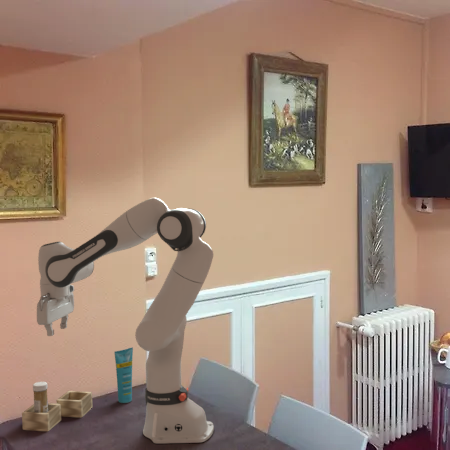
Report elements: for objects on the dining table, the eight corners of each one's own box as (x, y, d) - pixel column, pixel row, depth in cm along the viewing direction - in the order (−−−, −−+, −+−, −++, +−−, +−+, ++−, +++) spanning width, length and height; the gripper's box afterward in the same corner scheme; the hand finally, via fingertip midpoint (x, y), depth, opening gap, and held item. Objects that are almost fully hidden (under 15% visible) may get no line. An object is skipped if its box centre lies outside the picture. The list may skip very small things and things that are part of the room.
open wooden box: (92, 407, 209) (91, 392, 209) (81, 417, 200) (81, 401, 200) (68, 406, 211) (68, 390, 210) (57, 416, 202) (56, 400, 202)
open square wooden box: (61, 420, 198) (60, 403, 198) (48, 431, 190) (47, 414, 189) (36, 418, 200) (35, 402, 200) (22, 429, 191) (21, 412, 191)
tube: (120, 405, 210) (118, 352, 209) (112, 402, 214) (110, 350, 212) (137, 399, 216) (135, 348, 214) (129, 396, 219) (128, 345, 218)
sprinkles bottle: (50, 423, 194) (49, 383, 193) (36, 427, 192) (34, 386, 191) (46, 419, 198) (44, 380, 197) (32, 422, 195) (31, 382, 194)
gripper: (48, 296, 185) (51, 340, 186) (76, 285, 205) (79, 324, 206) (29, 297, 186) (33, 340, 187) (59, 285, 206) (62, 324, 207)
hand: (57, 331), depth 197 cm, fingers open, 8 cm apart
